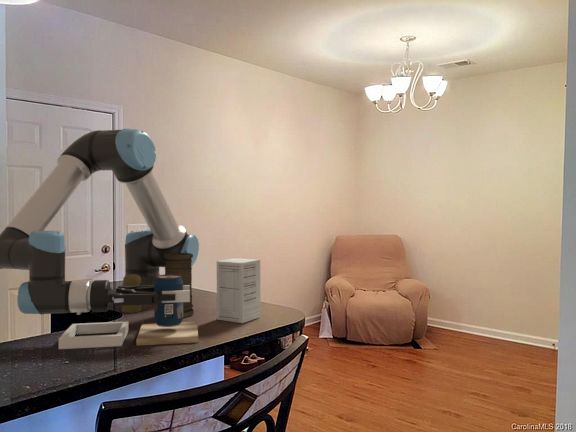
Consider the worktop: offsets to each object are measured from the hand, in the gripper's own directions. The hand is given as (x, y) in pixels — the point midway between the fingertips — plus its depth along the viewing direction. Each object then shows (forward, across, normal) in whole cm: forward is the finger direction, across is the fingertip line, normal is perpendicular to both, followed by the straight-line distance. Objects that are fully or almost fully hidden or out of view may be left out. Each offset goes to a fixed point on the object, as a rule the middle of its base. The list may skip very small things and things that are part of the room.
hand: (189, 293), depth 118 cm
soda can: (-5, 0, -8) cm, 9 cm away
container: (-3, -23, -11) cm, 26 cm away
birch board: (-5, 0, -10) cm, 12 cm away
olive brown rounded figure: (-17, -31, -11) cm, 37 cm away
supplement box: (+14, -15, -11) cm, 23 cm away
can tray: (-22, 0, -10) cm, 24 cm away
